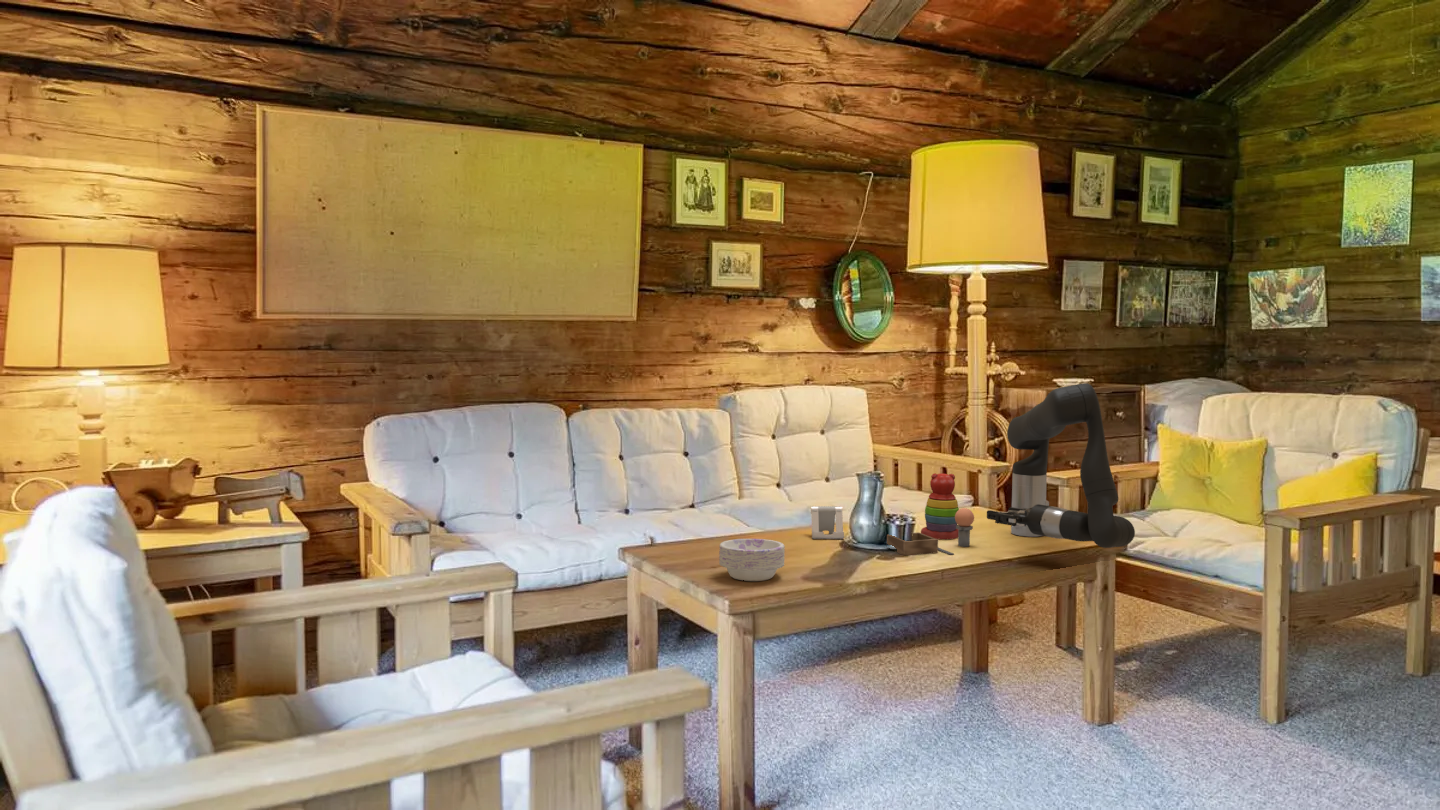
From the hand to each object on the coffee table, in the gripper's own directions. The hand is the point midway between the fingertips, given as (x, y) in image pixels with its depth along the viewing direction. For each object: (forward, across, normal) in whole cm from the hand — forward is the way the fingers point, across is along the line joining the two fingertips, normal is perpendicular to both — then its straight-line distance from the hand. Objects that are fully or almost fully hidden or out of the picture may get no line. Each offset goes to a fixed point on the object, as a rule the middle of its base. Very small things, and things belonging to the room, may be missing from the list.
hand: (998, 512), depth 261 cm
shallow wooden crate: (+16, +15, +11) cm, 24 cm away
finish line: (+14, +8, +11) cm, 19 cm away
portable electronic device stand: (+41, +22, +11) cm, 48 cm away
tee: (+11, 0, +10) cm, 16 cm away
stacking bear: (+24, -5, +10) cm, 26 cm away
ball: (+11, 0, +3) cm, 12 cm away
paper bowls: (+17, +67, +11) cm, 70 cm away
